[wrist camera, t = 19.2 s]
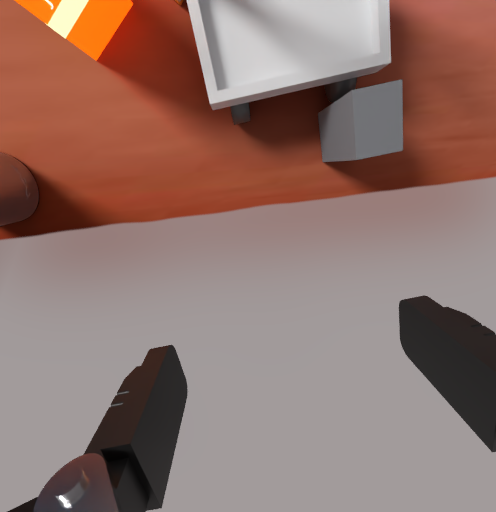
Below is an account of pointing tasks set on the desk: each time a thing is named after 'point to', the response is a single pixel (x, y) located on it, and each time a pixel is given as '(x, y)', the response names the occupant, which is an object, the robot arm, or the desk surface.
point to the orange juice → (81, 20)
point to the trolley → (287, 47)
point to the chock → (363, 123)
